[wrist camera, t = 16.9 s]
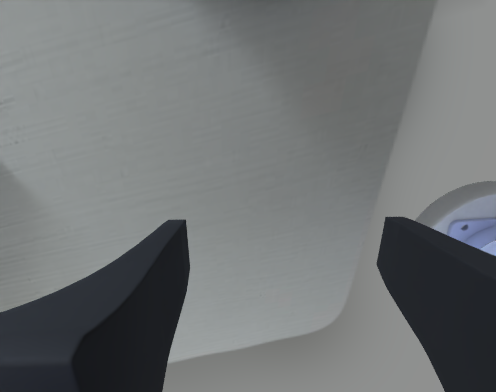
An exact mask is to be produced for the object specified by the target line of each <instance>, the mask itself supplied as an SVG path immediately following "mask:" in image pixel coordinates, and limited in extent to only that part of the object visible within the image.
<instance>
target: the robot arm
mask: <svg viewBox="0 0 496 392" xmlns="http://www.w3.org/2000/svg"><path fill="white" fill-rule="evenodd" d="M463 225H465V226H464V227H463V228H461V227H462V226H463ZM377 266H378V269H379V271H380V274H381V276H382V279H383V281H384V283H385V285H386V287H387V289H388V291H389V293H390V294H391V296H392V297H393V299H394V301H395V302H396V304H397V306H398V307H399V309H400V311H401V312H402V314H403V315H404V317H405V319H406V320H407V322H408V323H409V325H410V327H411V328H412V330H413V331H414V333H415V335H416V336H417V338H418V339H419V341H420V343H421V344H422V346H423V348H424V350H425V352H426V353H427V355H428V357H429V359H430V361H431V363H432V365H433V367H434V369H435V372H436V374H437V376H438V378H439V380H440V382H441V384H442V386H443V388H444V391H445V392H496V218H481V219H465V220H454V221H452V222H451V223H450V225H449V228H448V232H447V235H445V234H443V233H441V232H439V231H436V230H434V229H432V228H430V227H427V226H425V225H423V224H421V223H418V222H416V221H413V220H411V219H408V218H405V217H386V218H385V223H384V229H383V234H382V239H381V244H380V250H379V254H378V260H377ZM189 271H190V262H189V250H188V239H187V227H186V220H168V221H166V222H165V223H164V224H162V225H161V226H160V227H159V228H158V229H156V230H155V231H154V232H153V233H151V234H150V235H149V236H148V237H146V238H145V239H144V240H143V241H141V242H140V243H139V244H137V245H136V246H135V247H133V248H132V249H131V250H129V251H128V252H126V253H125V254H123V255H122V256H121V257H119V258H118V259H116V260H115V261H113V262H112V263H110V264H108V265H107V266H105V267H104V268H102V269H100V270H98V271H97V272H95V273H93V274H91V275H89V276H88V277H86V278H84V279H82V280H79V281H77V282H75V283H73V284H71V285H69V286H67V287H65V288H63V289H61V290H59V291H56V292H54V293H52V294H49V295H47V296H44V297H42V298H40V299H37V300H34V301H32V302H29V303H26V304H24V305H21V306H18V307H16V308H13V309H10V310H7V311H4V312H1V313H0V392H162V390H163V384H164V378H165V372H166V367H167V361H168V357H169V353H170V348H171V345H172V341H173V338H174V334H175V331H176V327H177V324H178V320H179V317H180V313H181V310H182V306H183V303H184V299H185V295H186V292H187V285H188V279H189Z"/></svg>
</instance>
